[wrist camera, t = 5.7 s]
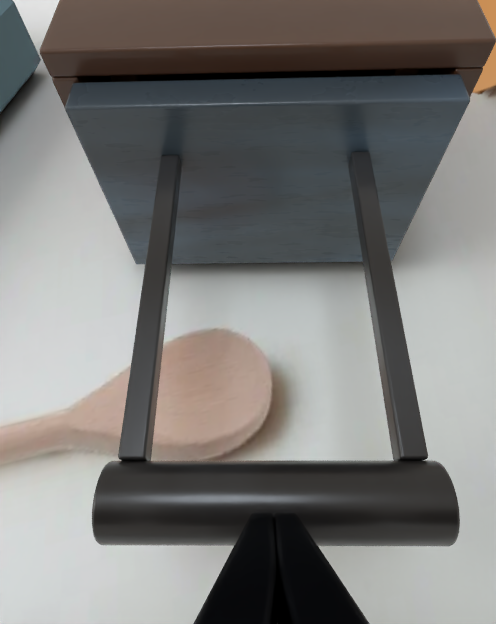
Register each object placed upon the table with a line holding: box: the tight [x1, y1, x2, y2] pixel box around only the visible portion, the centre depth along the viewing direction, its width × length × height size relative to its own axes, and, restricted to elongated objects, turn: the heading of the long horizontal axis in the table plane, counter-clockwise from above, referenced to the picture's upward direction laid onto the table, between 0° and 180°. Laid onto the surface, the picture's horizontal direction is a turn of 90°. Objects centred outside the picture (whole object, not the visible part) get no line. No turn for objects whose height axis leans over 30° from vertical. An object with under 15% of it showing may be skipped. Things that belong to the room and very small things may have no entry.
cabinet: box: [40, 0, 496, 250], centre depth 20 cm, size 18×13×10 cm
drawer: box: [65, 69, 470, 546], centre depth 16 cm, size 27×11×8 cm, turn 0°
